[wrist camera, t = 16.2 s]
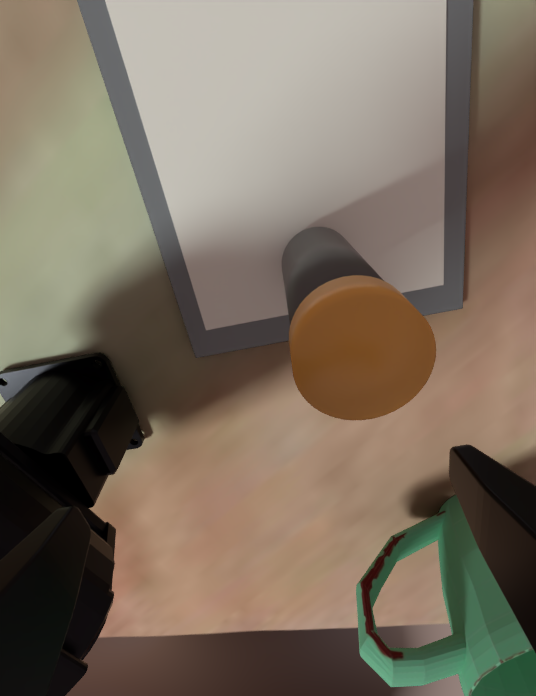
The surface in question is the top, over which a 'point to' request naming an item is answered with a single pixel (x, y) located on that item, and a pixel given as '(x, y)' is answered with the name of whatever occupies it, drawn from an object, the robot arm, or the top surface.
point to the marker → (351, 330)
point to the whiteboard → (291, 144)
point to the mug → (451, 616)
